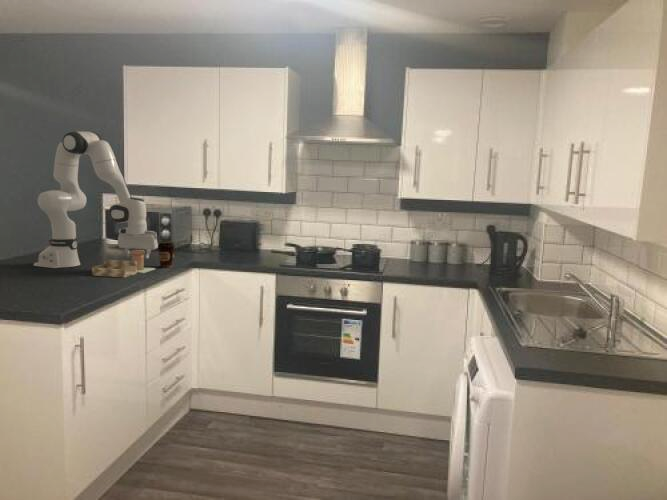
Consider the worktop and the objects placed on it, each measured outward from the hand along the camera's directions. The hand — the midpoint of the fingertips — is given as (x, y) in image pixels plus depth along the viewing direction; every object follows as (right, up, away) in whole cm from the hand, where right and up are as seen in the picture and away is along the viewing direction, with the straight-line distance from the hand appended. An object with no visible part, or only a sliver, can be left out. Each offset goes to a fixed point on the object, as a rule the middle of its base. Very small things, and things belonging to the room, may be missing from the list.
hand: (138, 257), depth 290 cm
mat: (0, -7, +1) cm, 7 cm away
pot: (0, -6, +1) cm, 6 cm away
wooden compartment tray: (-8, -8, -11) cm, 15 cm away
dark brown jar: (+10, -5, +13) cm, 18 cm away
